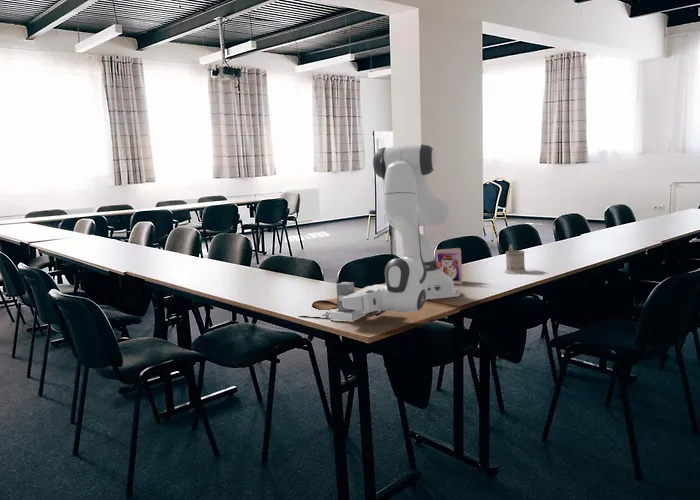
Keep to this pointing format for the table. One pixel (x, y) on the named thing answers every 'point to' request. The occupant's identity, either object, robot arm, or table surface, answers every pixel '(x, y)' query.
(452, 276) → the greeting card
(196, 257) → the table surface
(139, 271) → the table surface
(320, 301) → the sunglasses case
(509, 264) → the stone pedestal
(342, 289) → the block
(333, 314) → the white compartment tray
